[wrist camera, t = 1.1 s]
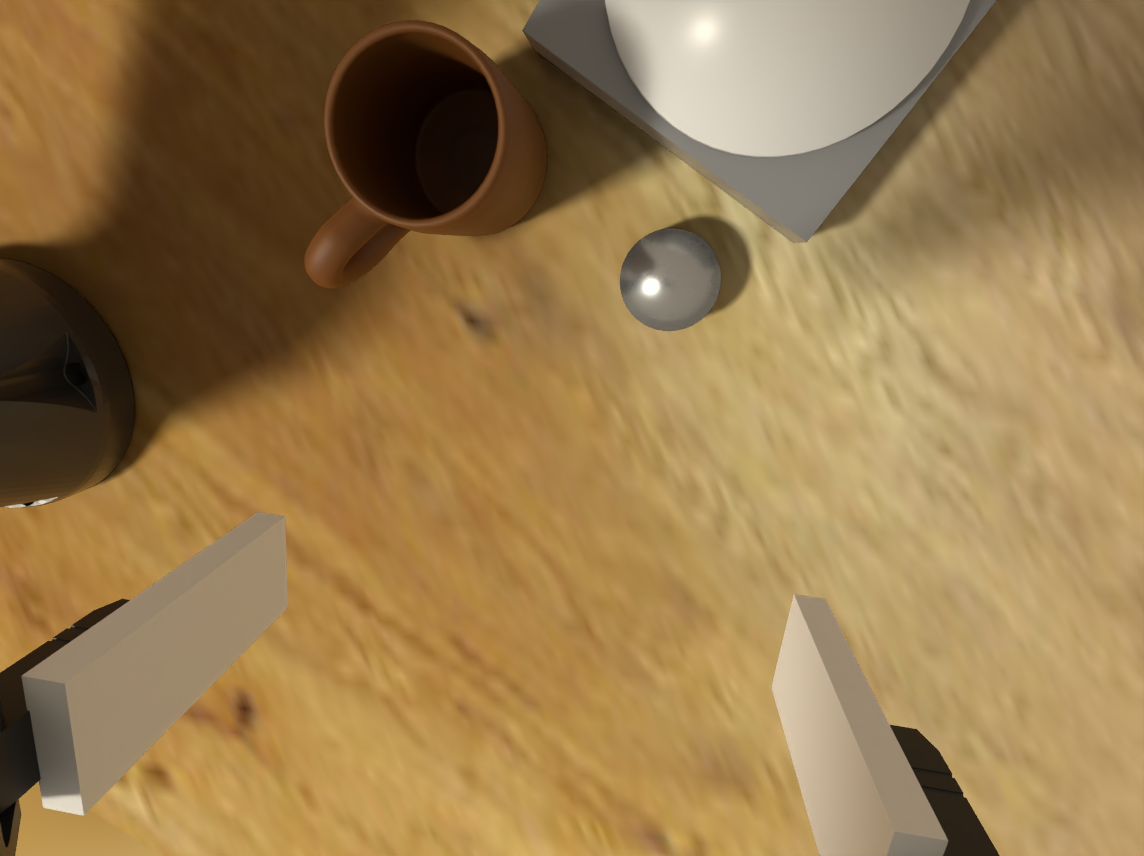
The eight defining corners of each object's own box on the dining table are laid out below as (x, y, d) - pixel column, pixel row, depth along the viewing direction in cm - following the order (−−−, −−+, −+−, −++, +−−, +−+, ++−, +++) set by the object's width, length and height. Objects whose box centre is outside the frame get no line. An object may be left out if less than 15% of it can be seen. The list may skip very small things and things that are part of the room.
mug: (433, 325, 36) (359, 351, 27) (331, 226, 35) (219, 219, 26) (581, 157, 32) (553, 122, 23) (472, 44, 32) (400, -37, 23)
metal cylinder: (603, 290, 34) (600, 293, 32) (659, 209, 33) (660, 207, 31) (678, 344, 35) (679, 350, 33) (737, 266, 33) (742, 268, 31)
